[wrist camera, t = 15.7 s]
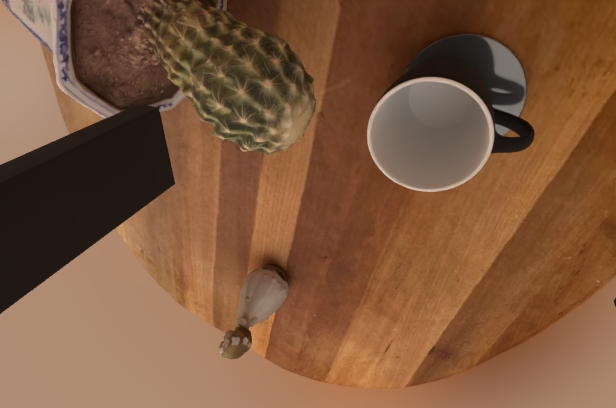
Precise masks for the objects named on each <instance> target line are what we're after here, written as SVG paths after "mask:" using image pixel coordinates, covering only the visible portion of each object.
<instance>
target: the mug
mask: <svg viewBox="0 0 616 408" xmlns="http://www.w3.org/2000/svg"><path fill="white" fill-rule="evenodd" d="M495 124H498V125H501V126H503V127H506V128H508V129H510V130H512V131H514V132H516V133H517V134H518V135H520V136H521V137H505V136H502V135H500V134H498V133H497V131H496V129H495ZM533 139H534V129H533V127H532V126H531V125H530V124H529V123H528V122H526V121H525V120H523V119H521V118H519V117H517V116H515V115H513V114H510V113H507V112H504V111H501V110H498V109H496V108H494V107H493V106H492V103H491V99H490V96H489V93H488V91H487V88H486V86H485V84H484V83H483V81H482V79H481V78H480V77H479V75H478V74H477V73H476V72H475V71H474V70H473V69H472V68H470V67H469V66H467V65H466V64H464V63H462V62H459V61H456V60H451V59H436V60H431V61H427V62H425V63H422V64H420V65H418V66H416V67H414V68H413V69H411V70H409V71H408V72H406V73H405V74H404V75H402V76H401V77H400V78H399V79H398V80H397V81H395V82H394V83H393V84H392V85H391V86H390V87H389V88H388V89H387V91H386V92H385V93H384V94H383V95H382V96H381V98H380V99H379V100H378V102H377V104H376V105H375V107H374V109H373V111H372V113H371V115H370V118H369V122H368V127H367V142H368V147H369V151H370V153H371V156H372V158H373V160H374V162H375V163H376V165H377V166H378V168H379V169H380V170H381V171H382V172H383V173H384V174H385V175H386V176H387V177H388V178H390V179H391V180H392V181H394V182H396V183H397V184H399V185H401V186H404V187H406V188H409V189H413V190H417V191H426V192H435V191H443V190H448V189H451V188H454V187H457V186H459V185H461V184H463V183H465V182H466V181H468V180H469V179H471V178H472V177H473V176H475V175H476V174H477V173H478V172H479V171H480V170H481V169H482V167H483V166H484V165H485V163H486V161H487V160H488V158H489V156H490V154H491V153H510V152H518V151H522V150H524V149H526V148H527V147H529V146H530V145H531V143H532V141H533Z"/></svg>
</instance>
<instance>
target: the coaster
mask: <svg viewBox="0 0 616 408" xmlns="http://www.w3.org/2000/svg"><path fill="white" fill-rule="evenodd" d="M436 59H451V60H456V61H459V62H462V63H464V64H466V65H467V66H469V67H470V68H472V69H473V70H474V71H475V72H476V73H477V74H478V75H479V77H480V78H481V79H482V81H483V83H484V84H485V86H486V88H487V91H488V93H489V96H490V99H491V103H492V106H493V107H494V108H496V109H498V110H501V111H504V112H507V113H510V114H513V115H515V116H517V117H519V116H520V114H521V112H522V110H523V107H524V103H525V100H526V93H527V83H526V77H525V73H524V70H523V67H522V65H521V63H520V61H519V59H518V58H517V56H516V55H515V54H514V53H513V51H512V50H510V49H509V48H508V47H507V46H506V45H505V44H503V43H502V42H500V41H498V40H496V39H494V38H492V37H489V36H486V35H482V34H475V33H462V34H455V35H451V36H447V37H444V38H441V39H439V40H437V41H435V42H433V43H431V44H430V45H428V46H427V47H425V48H424V49H423V50H422V51H421V52H419V53H418V54H417V55H416V56H415V58H414V59H413V60H412V61H411V62H410V64H409V65H408V67H407V68H406V70H405V72H404V74H405V73H406V72H408V71H409V70H411V69H413V68H414V67H416V66H418V65H420V64H422V63H425V62H427V61H431V60H436ZM404 74H403V75H404ZM495 129H496V131H497V133H498V134H500V135H502V136H504V135H505V134H506V133H507V132H508V131H509V130H510V129H508V128H506V127H503V126H501V125H498V124H495Z"/></svg>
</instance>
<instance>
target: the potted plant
mask: <svg viewBox="0 0 616 408" xmlns="http://www.w3.org/2000/svg"><path fill="white" fill-rule="evenodd" d="M2 2H3V3H4V4H5V6H6V7H7V8H8V9H9V10H10V11H11V13H12V14H13V15H14V16H15V17H16V18H17V19H19V20H20V21H21V23H22V24H23V25H24V26H25V27H26V28H27V29H28V30H29V31H30V32H31V33H32V34H33V35H34V36H35V37H36V38H38V39H39V40H40V41H41V42H42V43H43V44H44V45H45V46H46V47H47V48H48V49H49V50H50V51H51V53H52V54H53V62H54V65H55V74H56V82H57V84H58V86H59V88H60V89H61V90H62V91H63V92H65V93H66V94H67V95H69V96H70V97H72V98H73V99H74V100H75V101H76V102H78V103H80V104H81V105H83V106H84V107H86V108H88V109H90V110H92V111H94V112H95V113H97V114H98V115H100V116H101V117H103V118H105V119H106V118H108V117H110V116H112V115H115V114H117V113H119V112H121V111H124V110H126V109H128V108H130V107H133V106H135V105H137V104H143V105H148V106H153V107H159V111H160V112H162V111H166V110H170V109H172V108H173V107H175V106H176V105H178V104H179V103H180V102H181V101H182V100H183V99H184V98H185V97H186V96H187V97H189V98H190V100H191V101H192V102H193V104H194V105H193V106H194V107H195V109H196V111H197V113H198V115H199V117H200V120H202V121H204V122H208V123H210V124H211V125H212V126H214V127H215V128H214V130H213V132H212V133H211V135H213V136H215V137H217V138H218V139H220V140H221V141H225V140H229V141H232V142H234V143H237V144H239V145H240V149H241V150H242V151H251V150H253V151H256V152H260V153H263V154H267V155H269V154H272V153H274V152H277V151H283V150H286V149H287V148H289V147H290V146H291V145H292V144H293V143H294V142H299V141H300V139H301V137H302V136H304V132H305V130H306V128H307V126H308V124H309V122H310V120H311V118H312V116H313V114H314V112H315V105H316V99H315V97H314V94H313V85H312V83H313V81H314V78H312V77H311V76H310V75H309V74H307V73H306V71H305V69H304V67H303V65H302V62H301V60H300V59H299V58H298V56H297V55H296V54H295V53H294V52H293V51H292V50H291V49H290V47H289V45H288V43H287V42H286V41H285V40H283V39H281V38H279V37H278V36H272V35H269V34H267V33H265V32H263V31H262V30H260V29H258V28H249V27H248V25H246V24H245V23H243V22H241V21H239V20H238V19H237V18H235V17H234V16H233V15H232V14H231V13H229V12H227V11H226V10H227V0H2Z"/></svg>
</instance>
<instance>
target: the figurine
mask: <svg viewBox="0 0 616 408" xmlns="http://www.w3.org/2000/svg"><path fill="white" fill-rule="evenodd" d="M286 281H287V276H286V274H285V272H284V271H283V270H282V269H281V268H280V267H278V266H275V265H271V264H269V265H266V266H264V267H262V268H261V269H257V270H255V271H253V272H251V273H250V274H249V275H248V276H247V277H246V278H245V281H244V283H243V286H242V289H241V293H240V301H239V306H238V315H239V318H238V321H237V323H238V325H237V327H236V329H235V331H231V330H229V331H227V333H226V335H225V336H224V341H223V342H221V344H220V346H219V348H220V350H219V352H220V355H221V356H222V357H225V358H228V359H236V358H239V357H241V356H242V355H243V354H244V353H245V352H247V351H248V350H249V349H250V347H251V344H252V337H251V332H250V331H249V330H248V329H249V327H252V326H254V325H255V324H258V323H261V322H263V321H265V320H267V319H268V317H269V316H271V315H272V314H273V313H274V312H275V311H276V310H277V309H278V308H279V307H280V306H282V305H283V303H284V301H285V300H286V298H287V295H288V288H289V287H288V284H287V282H286Z"/></svg>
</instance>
